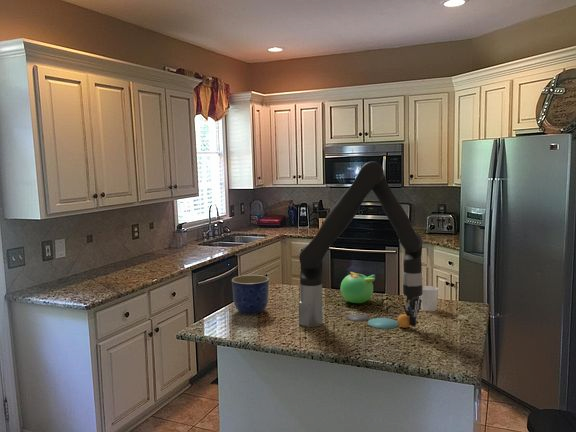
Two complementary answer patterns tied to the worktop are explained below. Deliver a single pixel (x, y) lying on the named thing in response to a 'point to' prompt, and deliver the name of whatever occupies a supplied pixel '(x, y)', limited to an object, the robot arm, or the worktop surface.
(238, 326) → the worktop surface
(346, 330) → the worktop surface
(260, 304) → the planter
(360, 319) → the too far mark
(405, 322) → the ball
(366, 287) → the toy bird
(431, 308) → the white cup
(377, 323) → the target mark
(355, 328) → the worktop surface
